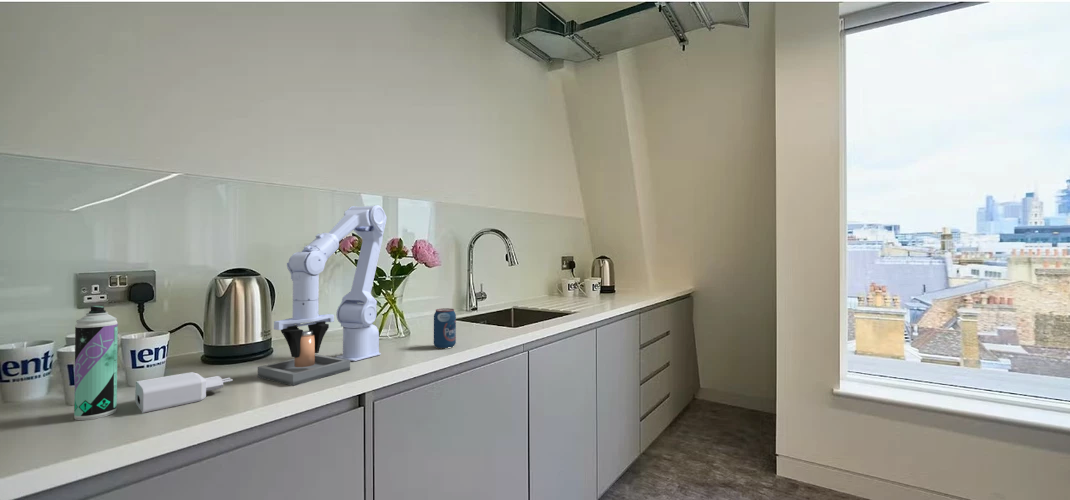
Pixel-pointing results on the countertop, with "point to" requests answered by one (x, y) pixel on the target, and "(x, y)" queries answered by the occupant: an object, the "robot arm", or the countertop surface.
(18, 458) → the countertop surface
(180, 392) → the charger
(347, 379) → the countertop surface
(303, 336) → the cylinder
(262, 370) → the tray
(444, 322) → the soda can
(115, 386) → the spray can
